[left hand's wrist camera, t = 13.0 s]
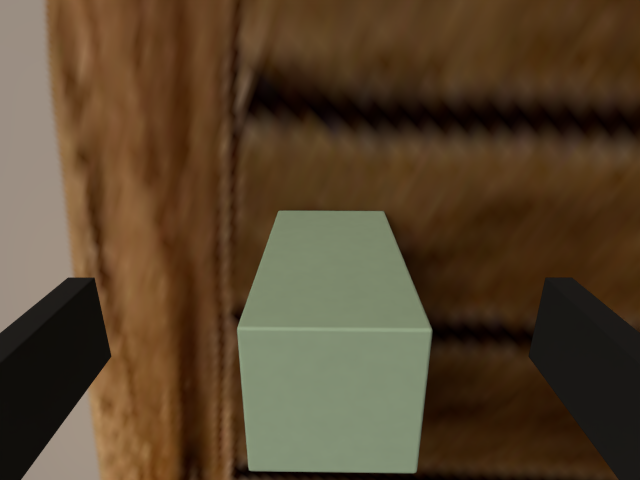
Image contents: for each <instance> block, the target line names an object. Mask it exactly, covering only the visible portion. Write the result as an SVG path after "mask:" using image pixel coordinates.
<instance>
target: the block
mask: <svg viewBox="0 0 640 480" xmlns="http://www.w3.org/2000/svg"><path fill="white" fill-rule="evenodd" d="M237 335H238V347H239V359H240V371H241V383H242V396H243V408H244V420H245V432H246V444H247V456H248V468H249V470H250V471H287V472H360V473H416V472H417V465H418V456H419V447H420V438H421V429H422V421H423V412H424V403H425V394H426V385H427V376H428V367H429V358H430V349H431V340H432V328H431V326H430V323H429V321H428V318H427V316H426V313H425V311H424V308H423V306H422V303H421V301H420V299H419V296H418V294H417V291H416V289H415V286H414V284H413V281H412V279H411V277H410V274H409V272H408V269H407V267H406V264H405V262H404V259H403V257H402V254H401V252H400V250H399V247H398V245H397V242H396V240H395V237H394V235H393V232H392V230H391V228H390V225H389V223H388V220H387V218H386V215H385V213H384V212H383V211H278V214H277V217H276V220H275V222H274V225H273V228H272V231H271V234H270V237H269V240H268V242H267V245H266V248H265V251H264V254H263V257H262V259H261V262H260V265H259V268H258V271H257V274H256V277H255V279H254V282H253V285H252V288H251V291H250V294H249V296H248V299H247V302H246V305H245V308H244V311H243V313H242V316H241V319H240V322H239V325H238V328H237Z"/></svg>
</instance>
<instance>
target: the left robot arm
mask: <svg viewBox="0 0 640 480" xmlns="http://www.w3.org/2000/svg"><path fill="white" fill-rule="evenodd" d="M110 358H111V353H110V348H109V343H108V339H107V334H106V329H105V325H104V320H103V315H102V311H101V306H100V301H99V297H98V292H97V287H96V283H95V278H67V279H66V280H65V281H63V282H62V283H61V284H60V285H59V286H57V287H56V288H55V289H54V290H52V291H51V292H50V293H49V294H48V295H46V296H45V297H44V298H43V299H41V300H40V301H39V302H38V303H37V304H35V305H34V306H33V307H32V308H30V309H29V310H28V311H27V312H26V313H24V314H23V315H22V316H21V317H19V318H18V319H17V320H16V321H15V322H13V323H12V324H11V325H10V326H8V327H7V328H6V329H5V330H4V331H2V332H1V333H0V480H21V479H22V478H23V476H24V475H25V474H26V472H27V471H28V469H29V468H30V467H31V465H32V464H33V463H34V461H35V460H36V459H37V457H38V456H39V454H40V453H41V452H42V450H43V449H44V448H45V446H46V445H47V444H48V442H49V441H50V439H51V438H52V437H53V435H54V434H55V433H56V431H57V430H58V428H59V427H60V426H61V424H62V423H63V422H64V420H65V419H66V418H67V416H68V415H69V414H70V412H71V411H72V409H73V408H74V407H75V405H76V404H77V402H78V401H79V400H80V399H81V397H82V396H83V394H84V393H85V392H86V390H87V389H88V388H89V386H90V385H91V383H92V382H93V381H94V379H95V378H96V377H97V375H98V374H99V373H100V371H101V370H102V368H103V367H104V366H105V364H106V363H107V362H108V360H109V359H110ZM529 358H530V359H531V360H532V362H533V363H534V364H535V366H536V367H537V368H538V370H539V371H540V373H541V374H542V375H543V377H544V378H545V379H546V381H547V382H548V384H549V385H550V386H551V388H552V389H553V390H554V392H555V393H556V394H557V396H558V397H559V399H560V400H561V401H562V403H563V404H564V405H565V407H566V408H567V409H568V411H569V412H570V414H571V415H572V416H573V418H574V419H575V420H576V422H577V423H578V424H579V426H580V427H581V429H582V430H583V431H584V433H585V434H586V435H587V437H588V438H589V439H590V441H591V442H592V444H593V445H594V446H595V448H596V449H597V450H598V452H599V453H600V454H601V456H602V457H603V459H604V460H605V461H606V463H607V464H608V465H609V467H610V468H611V469H612V471H613V472H614V474H615V475H616V476H617V478H618V479H619V480H640V333H639V332H638V331H637V330H635V329H634V328H633V327H632V326H630V325H629V324H628V323H627V322H625V321H624V320H623V319H622V318H621V317H619V316H618V315H617V314H616V313H614V312H613V311H612V310H611V309H610V308H608V307H607V306H606V305H605V304H603V303H602V302H601V301H600V300H599V299H597V298H596V297H595V296H594V295H592V294H591V293H590V292H589V291H588V290H586V289H585V288H584V287H583V286H581V285H580V284H579V283H578V282H577V281H575V280H574V279H573V278H545V283H544V287H543V292H542V297H541V301H540V306H539V311H538V315H537V320H536V325H535V329H534V334H533V339H532V343H531V348H530V353H529Z"/></svg>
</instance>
